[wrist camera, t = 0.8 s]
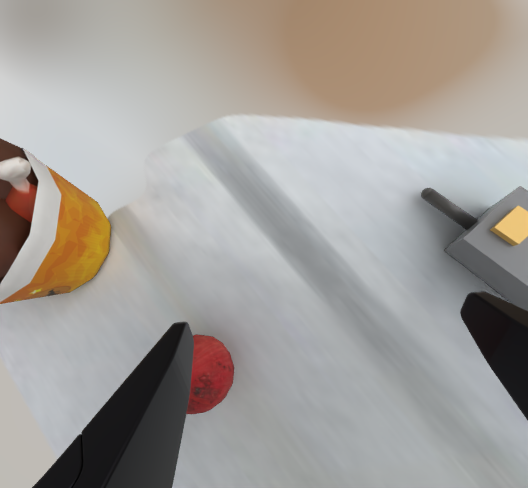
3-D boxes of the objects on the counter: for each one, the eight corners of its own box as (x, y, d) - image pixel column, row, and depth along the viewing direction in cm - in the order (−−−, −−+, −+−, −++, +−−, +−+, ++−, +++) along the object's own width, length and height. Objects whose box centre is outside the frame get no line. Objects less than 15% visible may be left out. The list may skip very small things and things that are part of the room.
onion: (257, 352, 24) (217, 371, 17) (229, 410, 24) (175, 456, 17) (209, 320, 27) (154, 326, 19) (182, 373, 26) (116, 399, 19)
